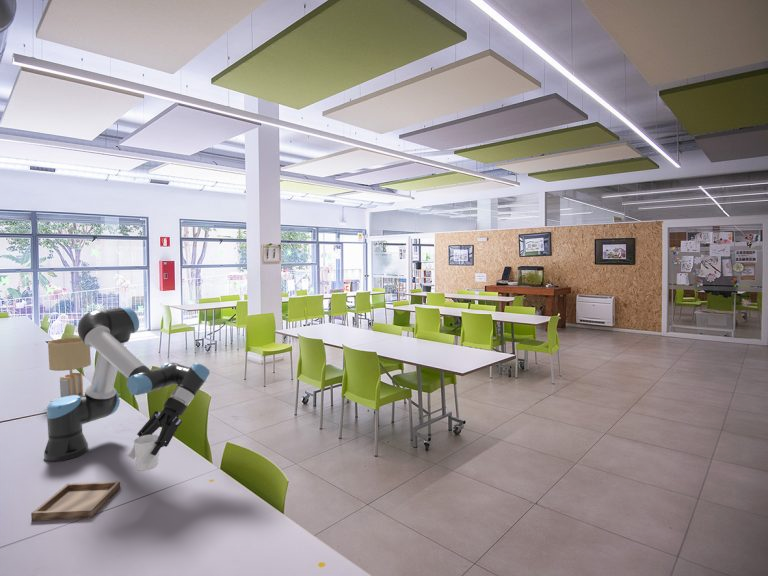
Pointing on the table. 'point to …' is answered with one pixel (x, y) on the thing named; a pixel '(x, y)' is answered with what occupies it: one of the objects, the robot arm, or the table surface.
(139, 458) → the white cup
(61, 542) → the table surface
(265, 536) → the table surface
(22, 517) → the table surface
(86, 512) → the walnut tray
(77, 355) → the desk lamp
